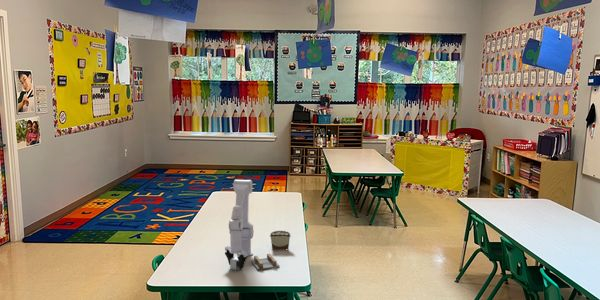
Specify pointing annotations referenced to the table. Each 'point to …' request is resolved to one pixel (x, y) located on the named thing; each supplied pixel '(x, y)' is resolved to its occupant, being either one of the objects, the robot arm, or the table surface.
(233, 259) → the steel block
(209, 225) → the table surface
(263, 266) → the slot seat
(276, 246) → the food container
